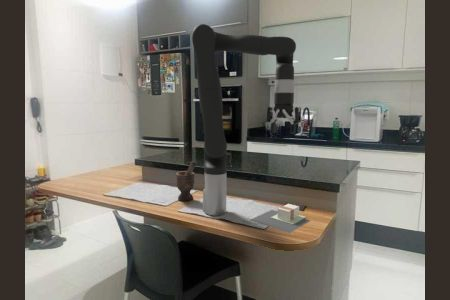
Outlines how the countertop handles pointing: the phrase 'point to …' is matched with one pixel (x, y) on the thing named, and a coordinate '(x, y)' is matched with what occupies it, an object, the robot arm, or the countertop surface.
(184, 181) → the mortar and pestle
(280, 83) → the robot arm
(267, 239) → the countertop surface
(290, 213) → the card box
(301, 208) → the chocolate bar
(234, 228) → the countertop surface
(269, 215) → the mat
